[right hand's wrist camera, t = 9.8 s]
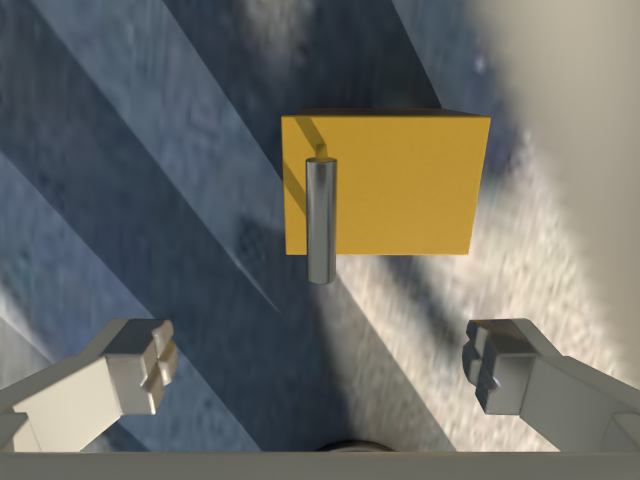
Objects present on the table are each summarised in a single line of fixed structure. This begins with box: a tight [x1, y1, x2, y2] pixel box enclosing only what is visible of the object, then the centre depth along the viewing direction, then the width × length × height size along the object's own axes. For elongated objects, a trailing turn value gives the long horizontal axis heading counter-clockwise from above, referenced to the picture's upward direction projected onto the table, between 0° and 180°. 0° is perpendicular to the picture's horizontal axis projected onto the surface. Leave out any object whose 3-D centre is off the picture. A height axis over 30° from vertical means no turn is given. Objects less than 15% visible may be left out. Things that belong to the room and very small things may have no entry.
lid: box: [281, 115, 491, 284], centre depth 23 cm, size 13×10×8 cm
